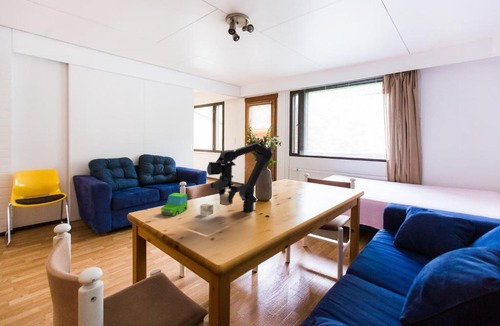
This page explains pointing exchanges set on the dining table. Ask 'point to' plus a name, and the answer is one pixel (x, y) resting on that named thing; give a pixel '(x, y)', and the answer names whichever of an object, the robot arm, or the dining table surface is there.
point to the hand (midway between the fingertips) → (226, 202)
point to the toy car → (175, 204)
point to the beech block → (206, 209)
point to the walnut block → (225, 200)
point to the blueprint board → (205, 215)
